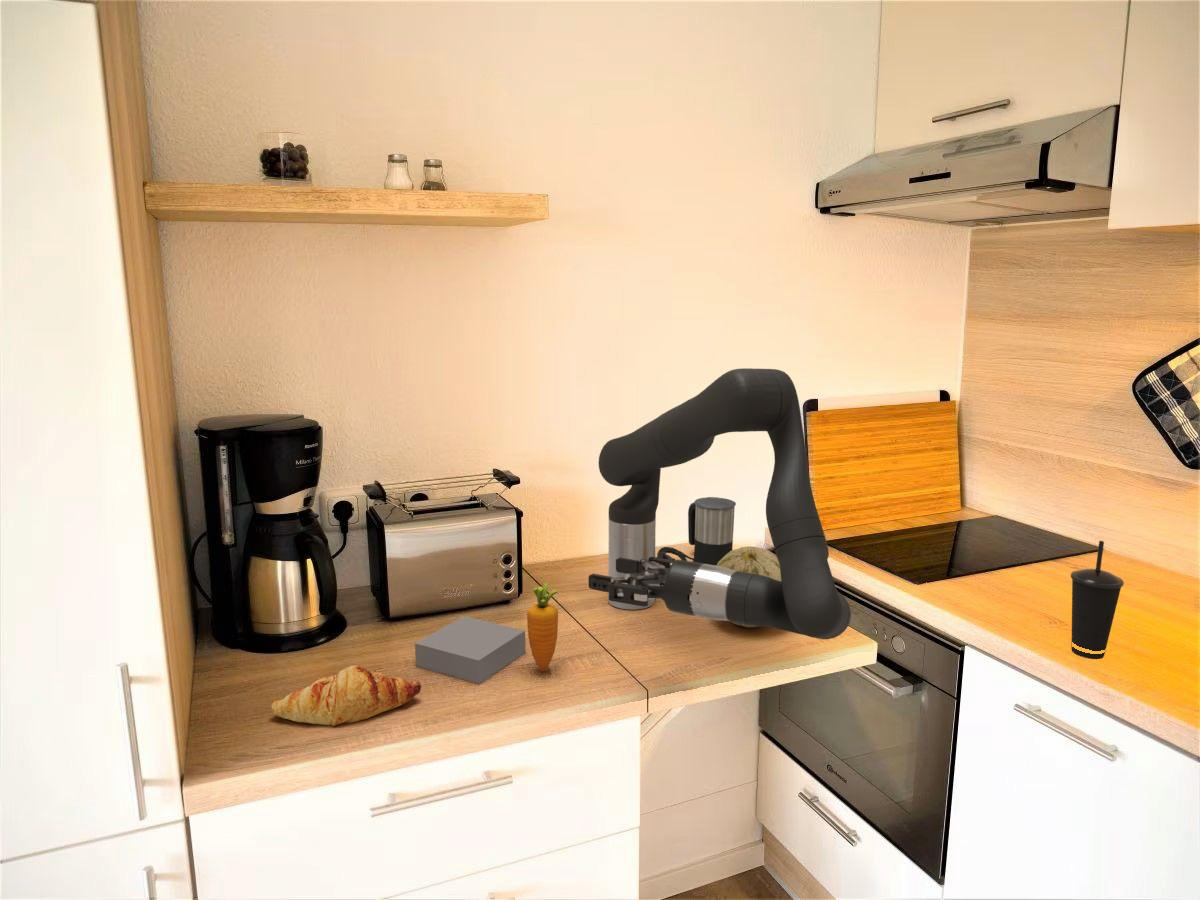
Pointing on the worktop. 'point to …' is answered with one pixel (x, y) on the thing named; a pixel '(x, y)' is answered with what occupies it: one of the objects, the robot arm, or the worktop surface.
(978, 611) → the worktop surface
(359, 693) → the croissant
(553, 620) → the carrot
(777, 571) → the cantaloupe
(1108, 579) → the drinking cup
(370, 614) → the worktop surface
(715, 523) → the milk frother
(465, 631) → the base block
